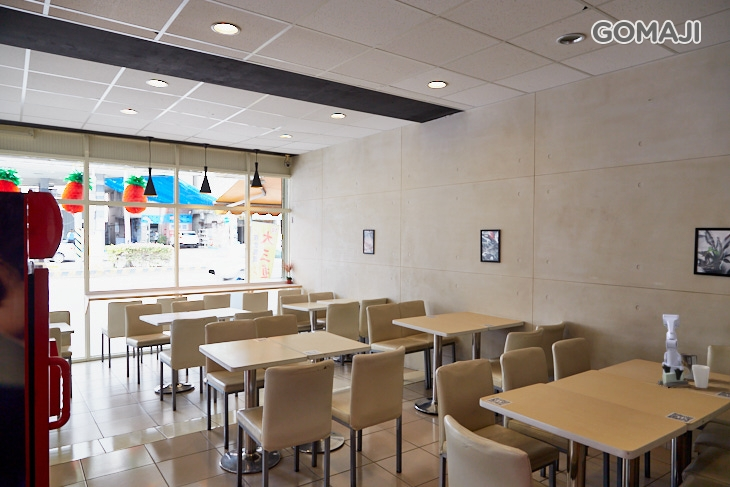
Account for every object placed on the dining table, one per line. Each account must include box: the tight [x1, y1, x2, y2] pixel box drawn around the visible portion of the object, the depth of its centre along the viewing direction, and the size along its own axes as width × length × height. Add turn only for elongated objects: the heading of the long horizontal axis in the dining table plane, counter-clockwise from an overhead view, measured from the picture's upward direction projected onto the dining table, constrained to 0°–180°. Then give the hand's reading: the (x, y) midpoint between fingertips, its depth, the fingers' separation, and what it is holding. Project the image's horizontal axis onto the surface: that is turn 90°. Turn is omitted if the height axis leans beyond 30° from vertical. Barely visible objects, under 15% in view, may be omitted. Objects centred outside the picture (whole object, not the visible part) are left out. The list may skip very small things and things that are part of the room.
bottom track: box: [656, 380, 691, 388], centre depth 307 cm, size 9×18×3 cm, turn 103°
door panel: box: [662, 372, 685, 385], centre depth 307 cm, size 2×14×7 cm, turn 104°
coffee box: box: [679, 352, 698, 381], centre depth 323 cm, size 9×6×16 cm
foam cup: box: [692, 364, 710, 389], centre depth 302 cm, size 10×9×13 cm
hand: (673, 378), depth 307 cm, fingers open, 7 cm apart
